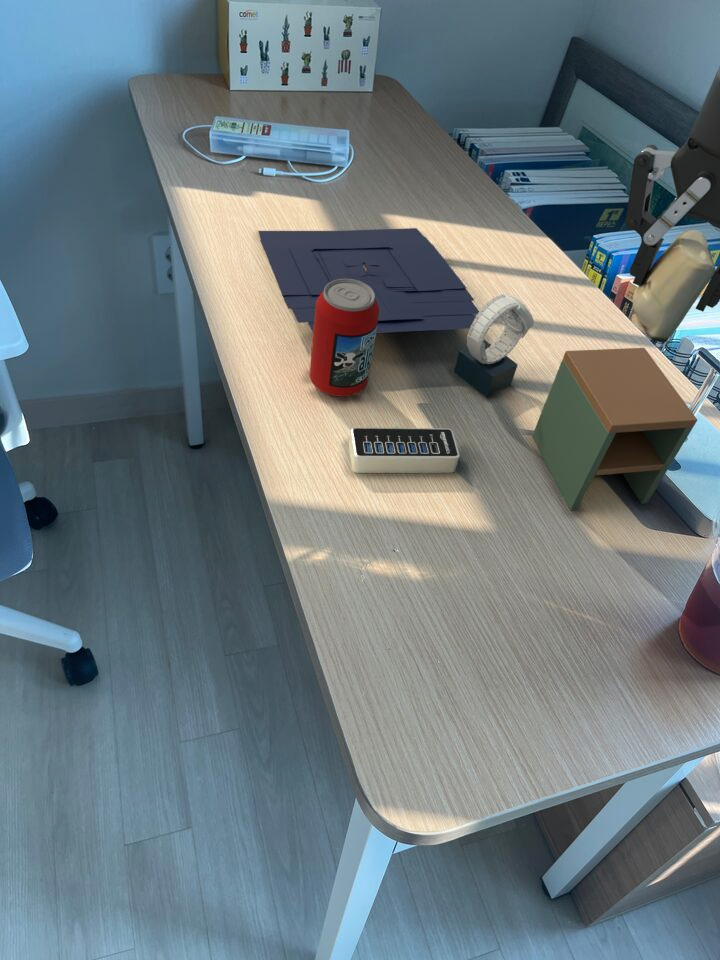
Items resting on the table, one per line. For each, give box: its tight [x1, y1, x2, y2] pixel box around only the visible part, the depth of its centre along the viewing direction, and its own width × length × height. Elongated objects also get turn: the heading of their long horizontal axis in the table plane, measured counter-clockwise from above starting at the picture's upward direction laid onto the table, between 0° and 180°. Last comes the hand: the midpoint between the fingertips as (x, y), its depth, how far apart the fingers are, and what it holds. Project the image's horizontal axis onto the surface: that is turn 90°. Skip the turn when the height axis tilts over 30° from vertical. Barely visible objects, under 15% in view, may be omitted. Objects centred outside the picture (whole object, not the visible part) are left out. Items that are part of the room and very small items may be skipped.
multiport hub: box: [348, 427, 460, 474], centre depth 79 cm, size 4×11×2 cm, turn 97°
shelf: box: [531, 347, 698, 511], centre depth 78 cm, size 11×9×12 cm
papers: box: [257, 227, 480, 334], centre depth 99 cm, size 24×30×4 cm
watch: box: [453, 293, 535, 398], centre depth 87 cm, size 6×8×11 cm
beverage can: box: [309, 279, 379, 397], centre depth 83 cm, size 7×7×12 cm
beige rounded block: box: [630, 229, 716, 343], centre depth 64 cm, size 6×5×8 cm
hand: (670, 293), depth 64 cm, fingers closed on beige rounded block, 5 cm apart
